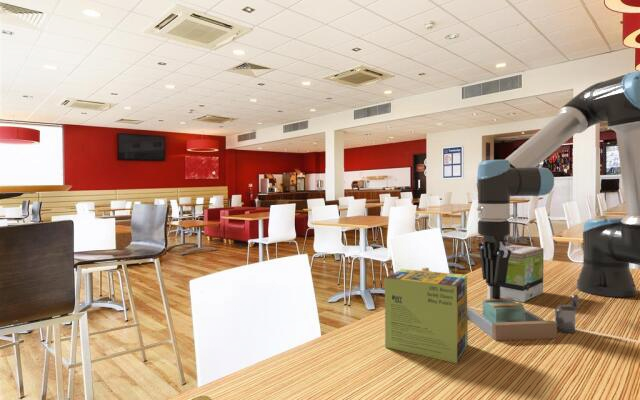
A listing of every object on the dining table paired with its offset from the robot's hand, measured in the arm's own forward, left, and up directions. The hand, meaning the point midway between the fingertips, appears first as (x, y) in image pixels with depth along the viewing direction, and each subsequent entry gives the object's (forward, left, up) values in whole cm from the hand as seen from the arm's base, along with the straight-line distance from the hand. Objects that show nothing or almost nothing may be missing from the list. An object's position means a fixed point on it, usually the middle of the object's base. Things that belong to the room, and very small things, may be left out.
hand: (493, 309), depth 100 cm
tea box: (-17, -19, -2) cm, 26 cm away
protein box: (+23, +16, -2) cm, 28 cm away
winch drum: (-12, +10, -2) cm, 16 cm away
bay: (0, +3, -2) cm, 4 cm away
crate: (0, +4, -2) cm, 5 cm away
